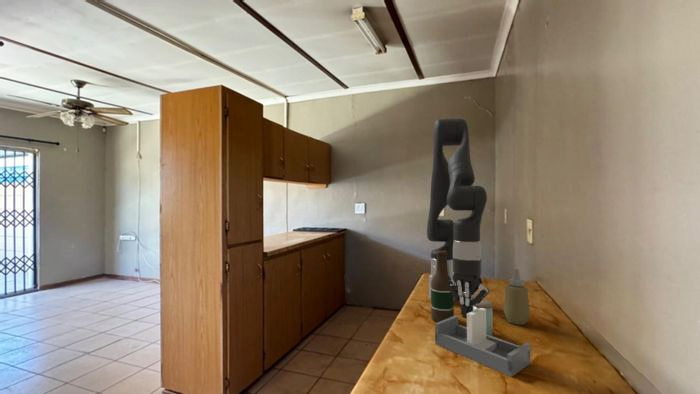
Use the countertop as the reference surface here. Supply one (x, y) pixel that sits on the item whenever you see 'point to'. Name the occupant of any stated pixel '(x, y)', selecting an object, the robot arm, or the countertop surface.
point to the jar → (489, 320)
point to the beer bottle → (441, 291)
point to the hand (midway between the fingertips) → (467, 317)
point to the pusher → (478, 330)
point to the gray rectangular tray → (501, 359)
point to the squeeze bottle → (516, 300)
